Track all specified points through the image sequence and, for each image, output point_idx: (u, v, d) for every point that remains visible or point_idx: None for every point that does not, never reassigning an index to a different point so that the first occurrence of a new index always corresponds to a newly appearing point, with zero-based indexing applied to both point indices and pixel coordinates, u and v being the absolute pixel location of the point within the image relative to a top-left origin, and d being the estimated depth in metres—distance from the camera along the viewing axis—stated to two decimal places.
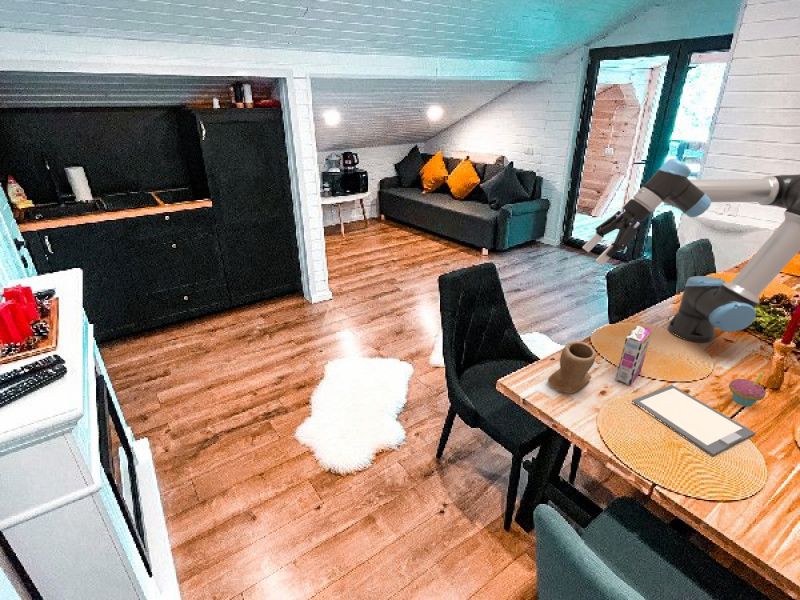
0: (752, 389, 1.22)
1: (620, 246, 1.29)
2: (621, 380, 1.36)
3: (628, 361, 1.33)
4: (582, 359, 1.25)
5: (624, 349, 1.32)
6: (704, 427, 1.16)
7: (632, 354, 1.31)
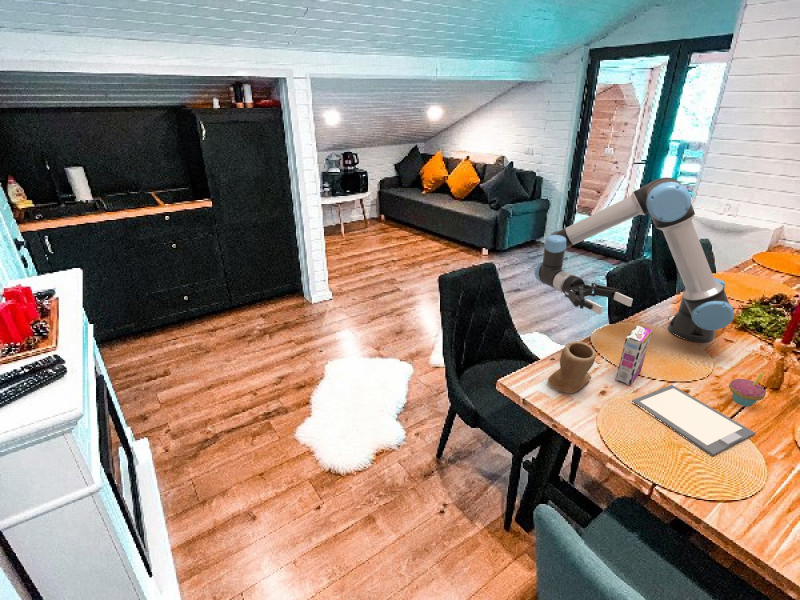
0: (752, 389, 1.22)
1: (575, 304, 1.42)
2: (621, 380, 1.36)
3: (628, 361, 1.33)
4: (582, 359, 1.25)
5: (624, 349, 1.32)
6: (704, 427, 1.16)
7: (632, 354, 1.31)
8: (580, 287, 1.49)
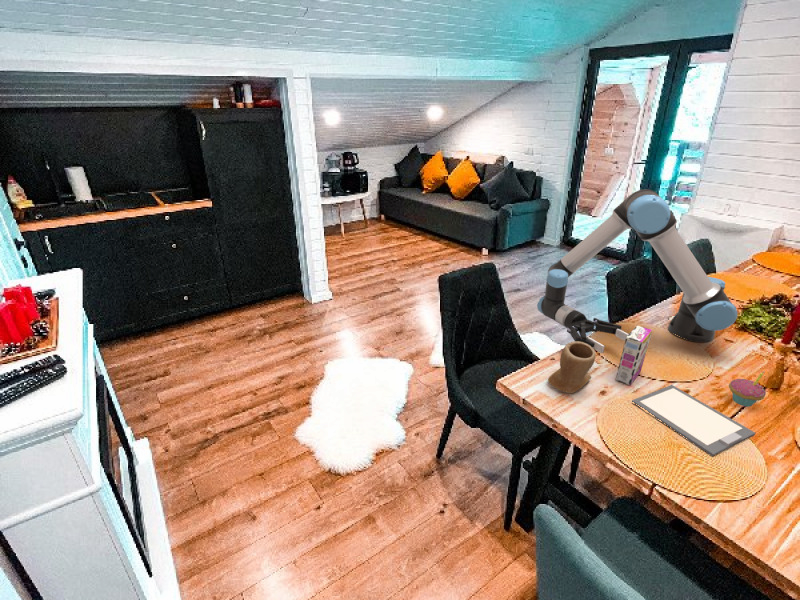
0: (752, 389, 1.22)
1: None
2: (621, 380, 1.36)
3: (628, 361, 1.33)
4: (582, 359, 1.25)
5: (624, 349, 1.32)
6: (704, 427, 1.16)
7: (632, 354, 1.31)
8: (582, 323, 1.51)
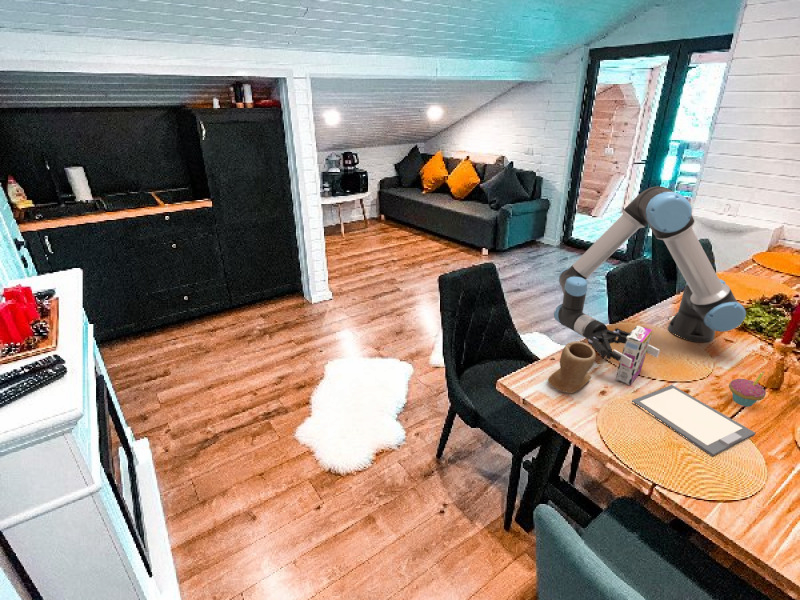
0: (752, 389, 1.22)
1: (602, 354, 1.36)
2: (621, 380, 1.36)
3: None
4: (582, 359, 1.25)
5: (624, 349, 1.32)
6: (704, 427, 1.16)
7: (632, 354, 1.31)
8: (604, 334, 1.44)
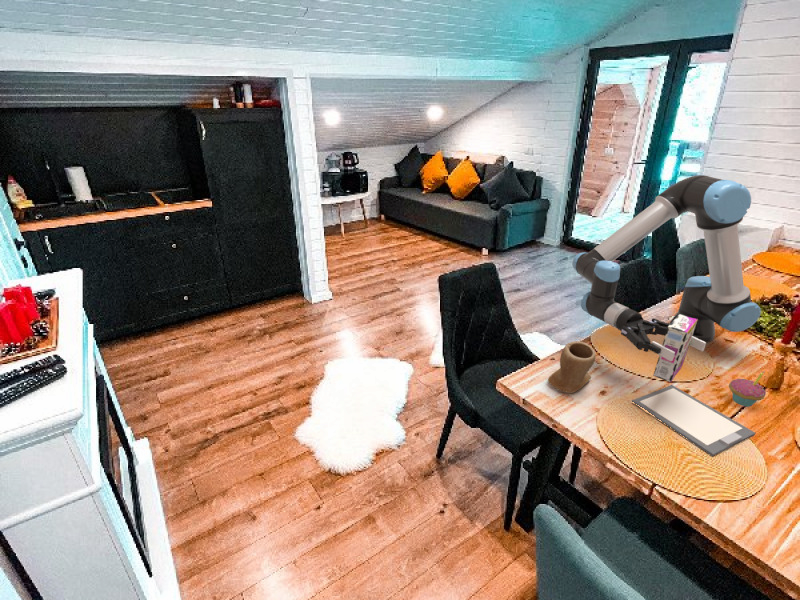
0: (752, 389, 1.22)
1: (638, 347, 1.20)
2: (660, 376, 1.19)
3: None
4: (582, 359, 1.25)
5: (665, 340, 1.16)
6: (704, 427, 1.16)
7: (674, 346, 1.14)
8: (639, 324, 1.27)
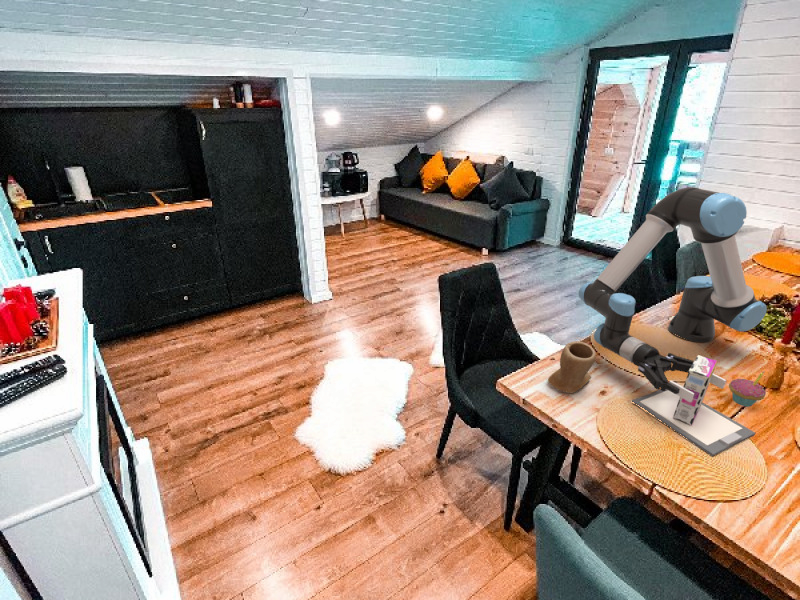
0: (752, 389, 1.22)
1: (656, 386, 1.17)
2: (680, 419, 1.18)
3: None
4: (582, 359, 1.25)
5: (686, 384, 1.14)
6: (704, 427, 1.16)
7: (696, 390, 1.13)
8: (657, 361, 1.25)
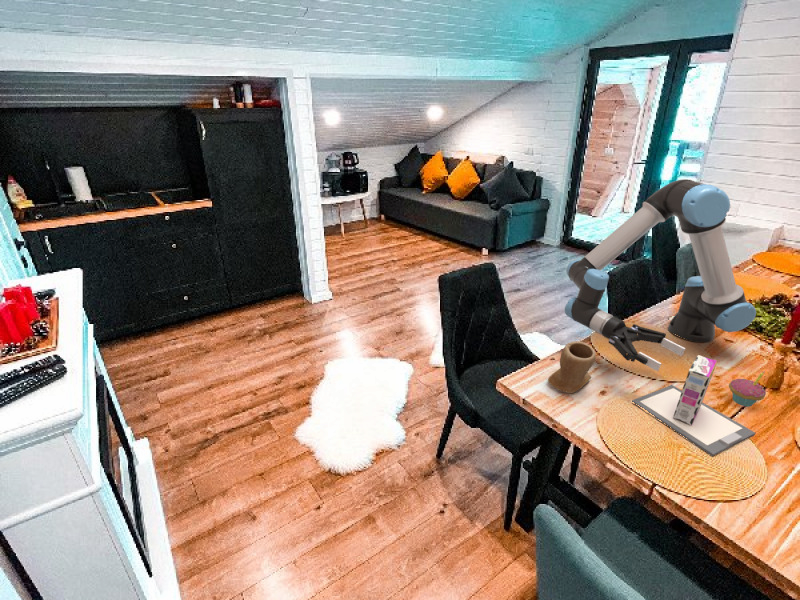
0: (752, 389, 1.22)
1: (627, 358, 1.27)
2: (680, 419, 1.18)
3: (690, 398, 1.14)
4: (582, 359, 1.25)
5: (686, 384, 1.14)
6: (704, 427, 1.16)
7: (696, 390, 1.13)
8: (625, 333, 1.34)
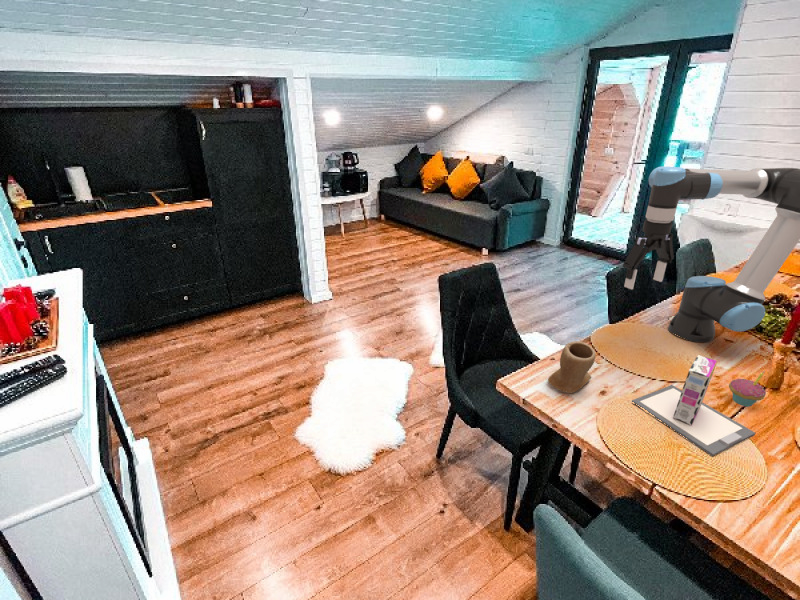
0: (752, 389, 1.22)
1: (624, 265, 1.31)
2: (680, 419, 1.18)
3: (690, 398, 1.14)
4: (582, 359, 1.25)
5: (686, 384, 1.14)
6: (704, 427, 1.16)
7: (696, 390, 1.13)
8: (654, 244, 1.29)
